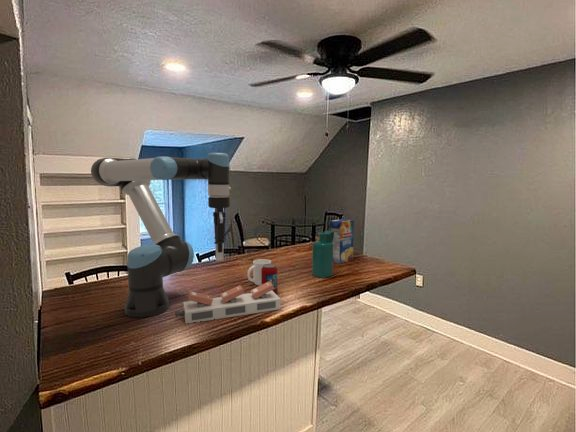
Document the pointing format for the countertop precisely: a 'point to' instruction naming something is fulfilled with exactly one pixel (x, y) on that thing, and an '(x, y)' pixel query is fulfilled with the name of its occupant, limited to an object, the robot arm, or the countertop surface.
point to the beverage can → (269, 275)
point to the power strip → (229, 307)
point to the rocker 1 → (200, 297)
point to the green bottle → (323, 255)
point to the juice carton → (342, 240)
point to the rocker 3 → (262, 289)
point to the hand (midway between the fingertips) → (219, 260)
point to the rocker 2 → (232, 293)
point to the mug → (257, 270)
